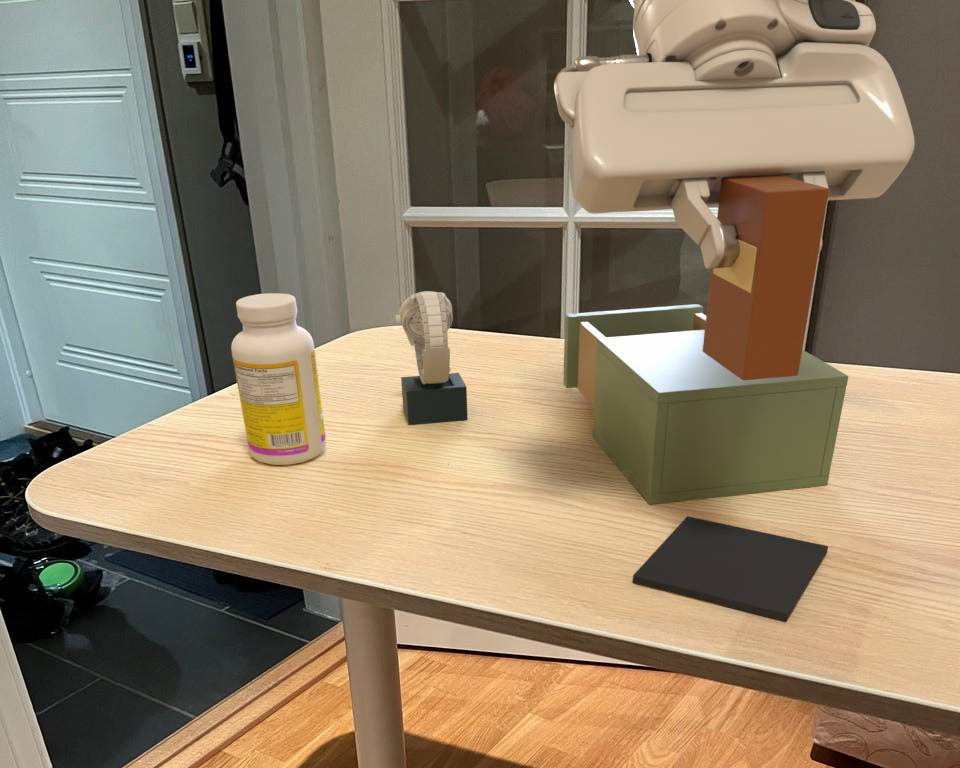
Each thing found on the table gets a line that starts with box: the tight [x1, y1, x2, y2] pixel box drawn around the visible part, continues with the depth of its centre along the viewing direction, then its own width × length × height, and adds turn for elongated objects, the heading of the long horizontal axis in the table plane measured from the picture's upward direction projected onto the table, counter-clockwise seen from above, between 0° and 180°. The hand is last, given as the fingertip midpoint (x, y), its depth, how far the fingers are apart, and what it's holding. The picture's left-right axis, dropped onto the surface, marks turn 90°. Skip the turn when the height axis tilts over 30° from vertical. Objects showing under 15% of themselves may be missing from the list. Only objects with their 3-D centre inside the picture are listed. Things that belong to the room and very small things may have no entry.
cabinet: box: [592, 330, 849, 505], centre depth 75 cm, size 15×15×9 cm
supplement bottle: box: [230, 292, 327, 466], centre depth 78 cm, size 7×7×13 cm
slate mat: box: [632, 515, 829, 622], centre depth 62 cm, size 10×10×1 cm
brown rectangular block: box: [703, 174, 829, 380], centre depth 54 cm, size 6×4×10 cm, turn 11°
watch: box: [395, 290, 468, 426], centre depth 85 cm, size 6×8×11 cm
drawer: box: [562, 303, 707, 408], centre depth 87 cm, size 18×13×7 cm
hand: (765, 259), depth 53 cm, fingers closed on brown rectangular block, 4 cm apart
